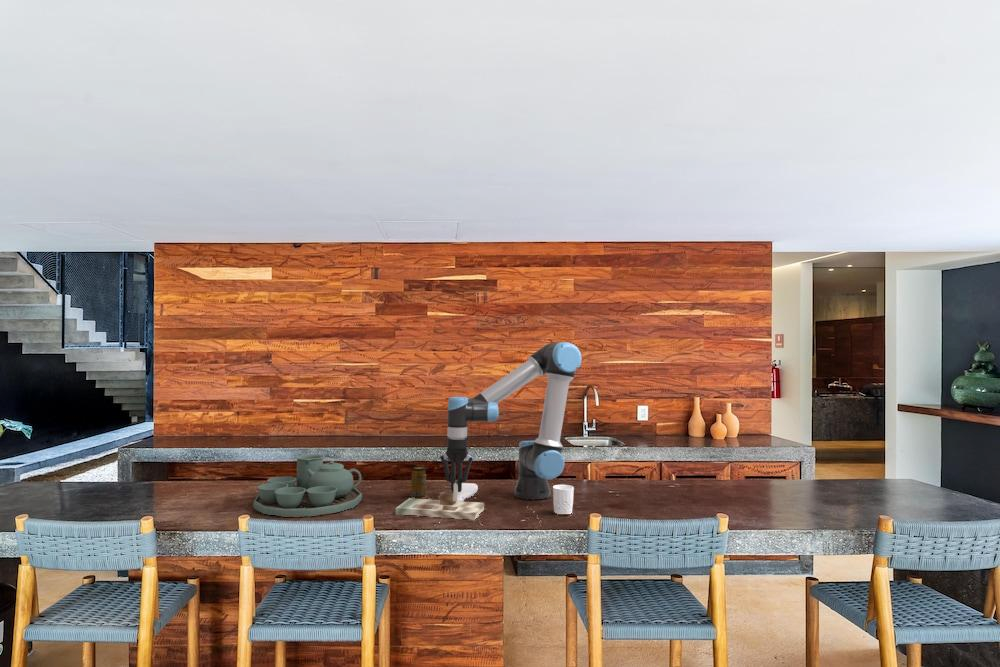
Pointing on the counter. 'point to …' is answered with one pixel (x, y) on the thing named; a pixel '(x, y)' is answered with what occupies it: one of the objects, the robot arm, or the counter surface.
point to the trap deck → (440, 509)
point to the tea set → (309, 489)
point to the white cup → (563, 499)
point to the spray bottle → (467, 491)
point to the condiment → (418, 482)
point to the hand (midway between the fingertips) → (456, 500)
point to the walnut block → (447, 498)
